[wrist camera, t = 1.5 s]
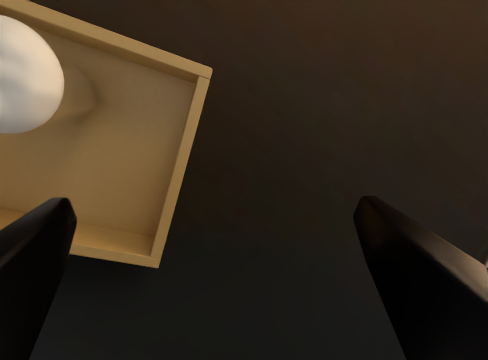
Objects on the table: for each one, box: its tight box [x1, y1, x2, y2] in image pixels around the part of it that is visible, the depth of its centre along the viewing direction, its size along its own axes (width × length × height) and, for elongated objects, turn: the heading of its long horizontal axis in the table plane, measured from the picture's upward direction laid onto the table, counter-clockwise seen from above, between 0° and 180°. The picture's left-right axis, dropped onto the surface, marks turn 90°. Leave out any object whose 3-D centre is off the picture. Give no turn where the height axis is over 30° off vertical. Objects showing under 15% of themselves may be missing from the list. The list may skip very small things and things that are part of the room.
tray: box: [0, 0, 212, 268], centre depth 18 cm, size 13×13×4 cm
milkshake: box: [0, 15, 97, 134], centre depth 14 cm, size 5×5×10 cm
